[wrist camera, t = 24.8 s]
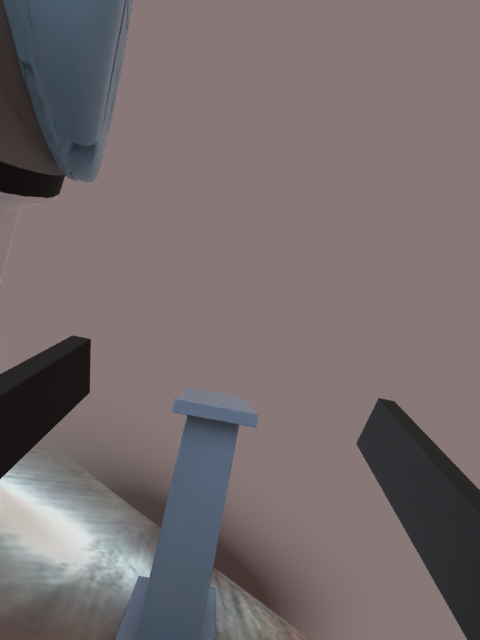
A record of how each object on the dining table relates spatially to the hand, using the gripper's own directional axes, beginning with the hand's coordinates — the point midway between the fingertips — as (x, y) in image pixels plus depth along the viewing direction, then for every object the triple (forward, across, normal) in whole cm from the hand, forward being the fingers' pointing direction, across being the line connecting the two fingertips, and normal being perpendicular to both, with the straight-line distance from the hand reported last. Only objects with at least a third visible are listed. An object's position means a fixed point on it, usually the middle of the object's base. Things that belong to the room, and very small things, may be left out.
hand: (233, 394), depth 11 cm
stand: (+4, 0, -41) cm, 42 cm away
